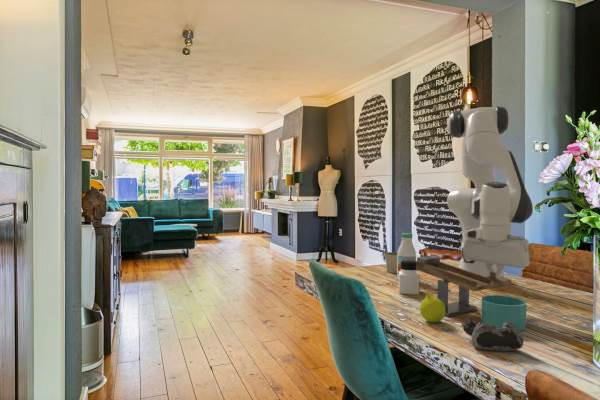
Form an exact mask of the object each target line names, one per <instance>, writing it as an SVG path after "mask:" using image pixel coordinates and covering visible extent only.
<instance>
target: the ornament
mask: <svg viewBox="0 0 600 400" xmlns="http://www.w3.org/2000/svg"><path fill="white" fill-rule="evenodd" d="M424 291H425V296H424V298H423V300H422V301H421V303H420V306H419V311H420V312H419V313H420V315H421V317H422V319H424V320H425V321H426V322H429V323H438V322H440V321H442V320H443V319H444V317H446V316H445V312H446V310H445V306H444V304H443V302H442V301H441V300H439V299H438V298H437V297H435V296H432V295H431V294H429V292H428V290H424Z"/></svg>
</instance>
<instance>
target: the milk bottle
mask: <svg viewBox="0 0 600 400" xmlns="http://www.w3.org/2000/svg"><path fill="white" fill-rule="evenodd" d="M400 236H401V237H400V238H401V242H400V246H399V247H398V249H397V252H398V253H397V273H396V279H397V281H398V282H399V271H401V261H402V260H415V261H417V254H416V253H417V252H416V249H415V247H414V244H413V233H412V232H410V233H409V232H402V233H401V235H400Z"/></svg>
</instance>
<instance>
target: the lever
mask: <svg viewBox="0 0 600 400" xmlns="http://www.w3.org/2000/svg"><path fill="white" fill-rule="evenodd" d="M416 261H417V264H416V270H417V271H419V272H422V273H424V274H427V275H430V276H433V277H435V278H438V279H439V280H443V281H447V282H448V284H449V283H450V284H451V283H452V284H453V285H457V286H458V287H459V286H461V287H464V288H467V289H469V291H472V292H477V291H483V290H488V289H491V288H497V286H498V287H500V286H501V287H502V286H505V285H510V284H511V283H512V279H511V278H509V279H507V278H508V277H505V276H504V277H505V278H504V277H501V276H500V278H499V279H497V278H492V277H484V276H481V275H478V274H475V273H472V272H469V271H466V270H463V269H460V268H459V267H457V266H453V265H451V264H449V263H445V262H442V261H441V257H440V256H436V255H425V256H416Z"/></svg>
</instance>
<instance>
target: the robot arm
mask: <svg viewBox="0 0 600 400" xmlns="http://www.w3.org/2000/svg"><path fill="white" fill-rule="evenodd" d="M509 125H510V115H509V112H508V110H507V108H506V107H504V106H495V107H493V106H488V107H487V106H485V107H484V106H483V107H477V108H469V109H463V110H456V111H453V112H451V113H450V114H449V117H448V118H447V122H446V126H447V131H448V132H449V135H450V136H451V137H453V138H455V139H457V138H458V139H461V138H462V141H461V142H462V143H461V171H462V175H463V176H464V178H466V179H468V180H470V181H472V183H473V184H474V188H467V187H466V188H458V189H453V190H452V191H450V192H449V194H448V196H447V199H446V204H447V208H448V209H449V211H451V212H452V213H453V214H454V215H455V216H456V218H457V219H458V221H459V224H460V227H461V233H462V247H461V253H460V254H461V259H459V264H458V265H459V266H458V268H460V269H463V270H466V271H469V272H472V273H475V274H478V275H481V276H484V277H492V278H497V279H499V278H500V276H501V277H504V278H507V279H510V278H508V277H505V266H506V267H511V268H512V267H514V268H517V269H524V268H527V267H528V266H530V261H531V259H530V254H529V253H530V252H529V247H530V241H528V240H527V238H525V237H524V236H521V235H520V236H517V235H513V234H512V230H511V229H512V223H514V224H515V223H516V224H523V223H524V222H526V221H528V220H529V218H531V217H532V215H533V201H532V200H531V197H530V195H529V193H528V192H527V189H526V186H525V183H524V181H523V178H522V175H521V172H520V169H519V165H518V164H517V161H516V158H515V156H514V154H513V152H512V151H510V150H508V149H506V147H505V146H504V144H502V141H501V139H500V135H501V134H504V133H505V132H506V131H507V130H508V127H509ZM493 169H495V170H497V171H499V172H500V173H501V174H502V175H503V176H504V179H505V182H506V183H504V182H498V181H497V180H496V178H495V176H494V172H493ZM497 287H499V286H497ZM497 287H496V288H497Z"/></svg>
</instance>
